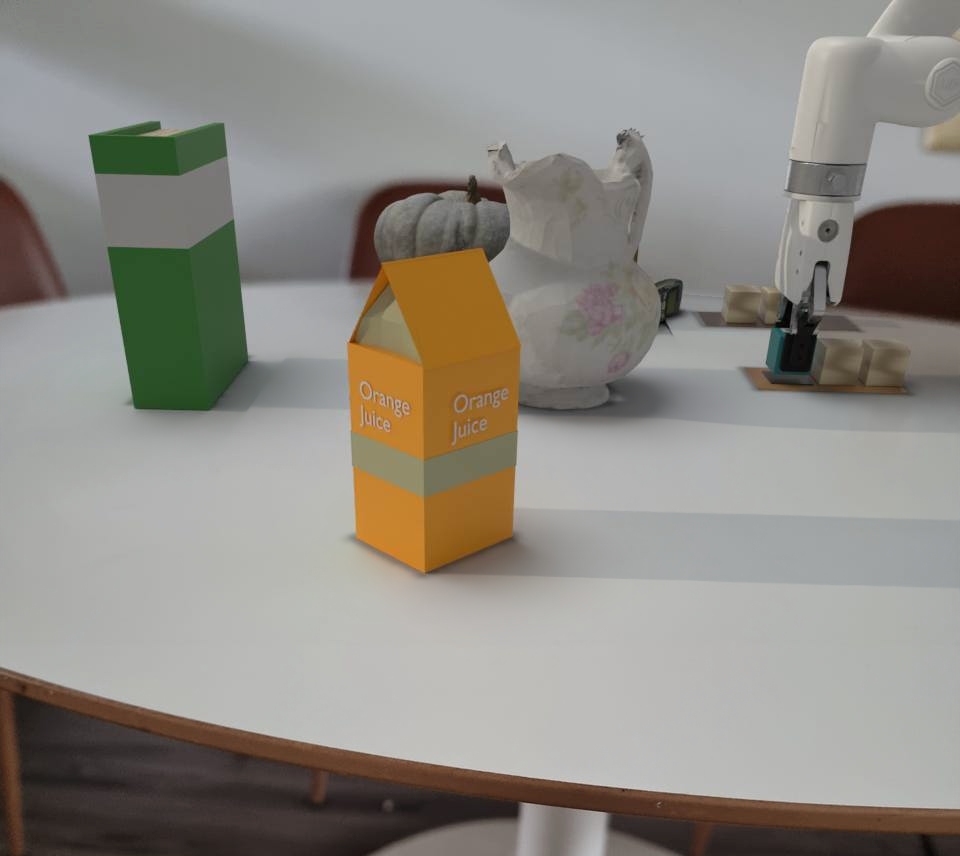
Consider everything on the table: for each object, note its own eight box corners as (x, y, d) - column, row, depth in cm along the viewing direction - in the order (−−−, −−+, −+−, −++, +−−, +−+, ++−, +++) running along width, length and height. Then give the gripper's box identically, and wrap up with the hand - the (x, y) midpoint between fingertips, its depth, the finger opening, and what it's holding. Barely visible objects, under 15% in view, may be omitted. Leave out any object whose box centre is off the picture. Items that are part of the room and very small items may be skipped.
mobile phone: (647, 296, 122) (691, 274, 133) (625, 293, 124) (671, 271, 134) (643, 336, 125) (687, 311, 136) (621, 332, 126) (667, 308, 137)
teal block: (800, 365, 109) (808, 327, 107) (810, 375, 105) (818, 337, 103) (765, 364, 109) (771, 326, 107) (773, 374, 105) (780, 335, 103)
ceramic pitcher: (535, 366, 115) (531, 129, 103) (693, 381, 106) (708, 123, 94) (436, 416, 100) (416, 143, 87) (611, 439, 90) (616, 138, 78)
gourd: (355, 304, 124) (367, 154, 117) (380, 296, 147) (391, 170, 140) (549, 332, 124) (572, 184, 118) (544, 319, 147) (562, 195, 141)
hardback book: (183, 358, 111) (151, 121, 99) (248, 360, 111) (224, 122, 98) (134, 408, 96) (88, 135, 84) (209, 410, 96) (174, 137, 83)
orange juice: (354, 542, 71) (340, 253, 61) (443, 510, 77) (444, 239, 66) (425, 580, 67) (423, 273, 56) (515, 542, 72) (528, 256, 62)
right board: (883, 376, 111) (892, 335, 109) (907, 398, 104) (918, 355, 102) (742, 372, 111) (749, 331, 109) (757, 393, 104) (765, 350, 102)
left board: (841, 320, 134) (848, 285, 132) (859, 334, 127) (867, 298, 125) (695, 316, 134) (700, 281, 132) (705, 330, 127) (710, 294, 125)
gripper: (889, 193, 90) (845, 389, 100) (837, 173, 104) (803, 346, 114) (807, 191, 90) (771, 386, 100) (767, 171, 104) (739, 344, 114)
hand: (789, 363), depth 107 cm, fingers closed on teal block, 4 cm apart
